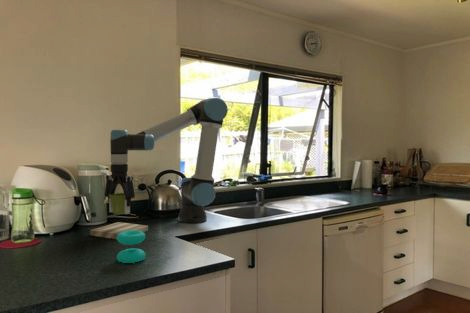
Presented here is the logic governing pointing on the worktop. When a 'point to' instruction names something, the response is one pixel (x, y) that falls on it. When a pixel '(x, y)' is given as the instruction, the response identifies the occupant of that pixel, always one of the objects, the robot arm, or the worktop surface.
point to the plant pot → (118, 203)
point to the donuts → (133, 253)
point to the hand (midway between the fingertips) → (119, 212)
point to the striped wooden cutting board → (116, 229)
